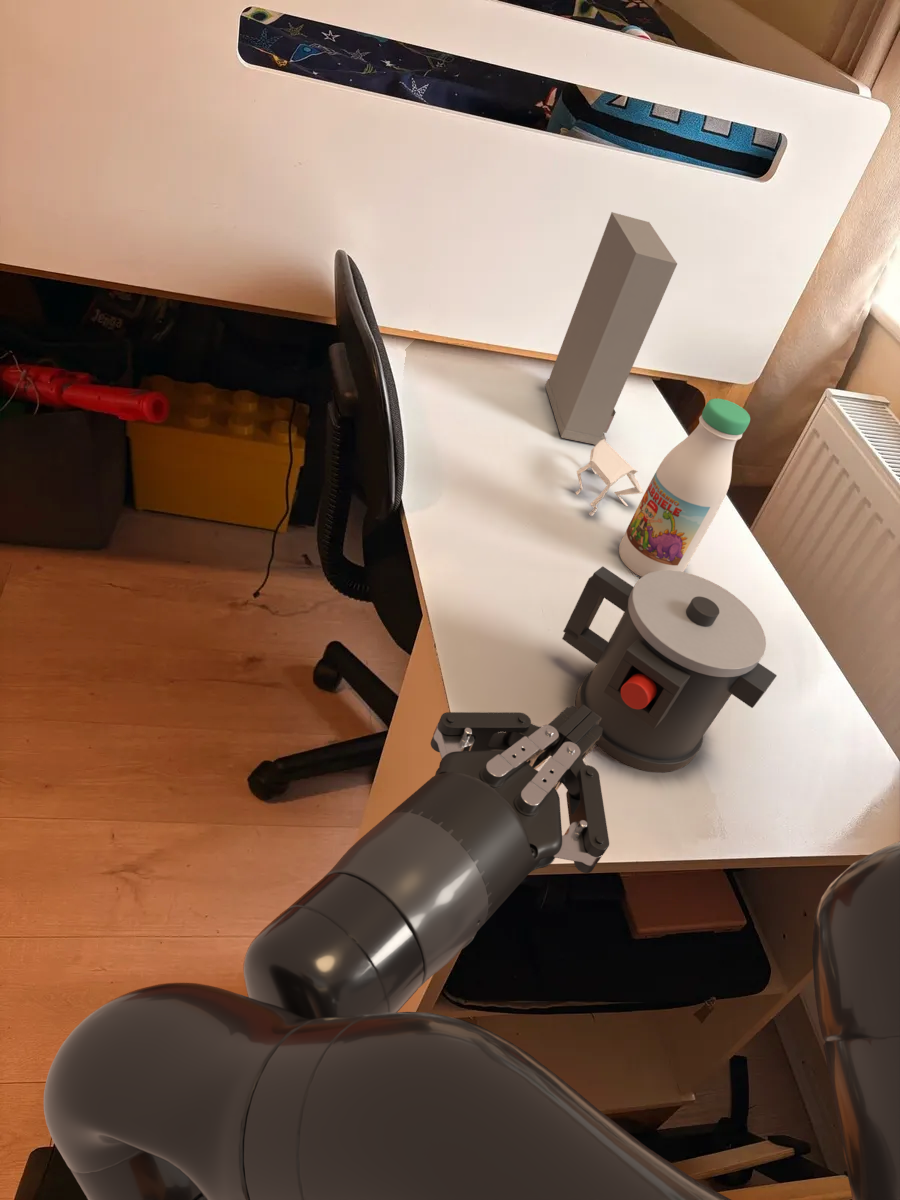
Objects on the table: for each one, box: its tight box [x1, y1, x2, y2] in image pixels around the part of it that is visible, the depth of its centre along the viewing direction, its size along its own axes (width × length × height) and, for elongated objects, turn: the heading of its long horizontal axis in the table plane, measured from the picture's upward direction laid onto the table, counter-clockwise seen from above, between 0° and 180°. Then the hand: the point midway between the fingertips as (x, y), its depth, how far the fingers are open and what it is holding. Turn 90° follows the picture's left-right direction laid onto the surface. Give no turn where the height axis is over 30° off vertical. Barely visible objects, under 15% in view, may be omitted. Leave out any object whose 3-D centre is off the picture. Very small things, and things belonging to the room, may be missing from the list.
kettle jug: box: [561, 566, 777, 773], centre depth 77 cm, size 13×17×14 cm
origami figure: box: [575, 439, 644, 517], centre depth 109 cm, size 12×8×5 cm
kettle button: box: [621, 674, 657, 709], centre depth 71 cm, size 2×2×2 cm
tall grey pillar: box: [544, 211, 678, 446], centre depth 115 cm, size 14×6×25 cm, turn 4°
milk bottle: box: [618, 398, 751, 578], centre depth 95 cm, size 8×8×20 cm
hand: (587, 719), depth 59 cm, fingers closed
